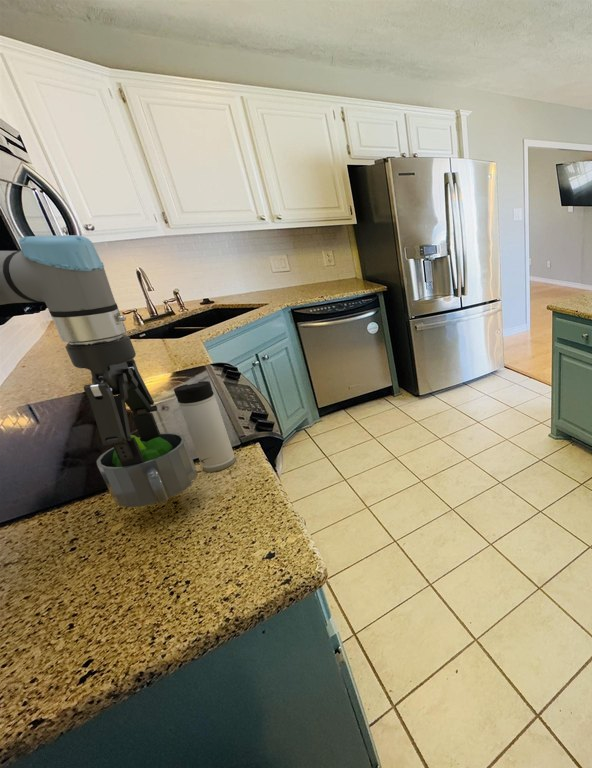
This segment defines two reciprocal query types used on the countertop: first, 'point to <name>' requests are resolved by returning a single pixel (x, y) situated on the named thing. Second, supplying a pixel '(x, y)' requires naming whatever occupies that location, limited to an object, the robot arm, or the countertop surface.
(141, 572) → the countertop surface
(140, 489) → the wide gray mug
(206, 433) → the travel mug
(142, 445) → the bell pepper
